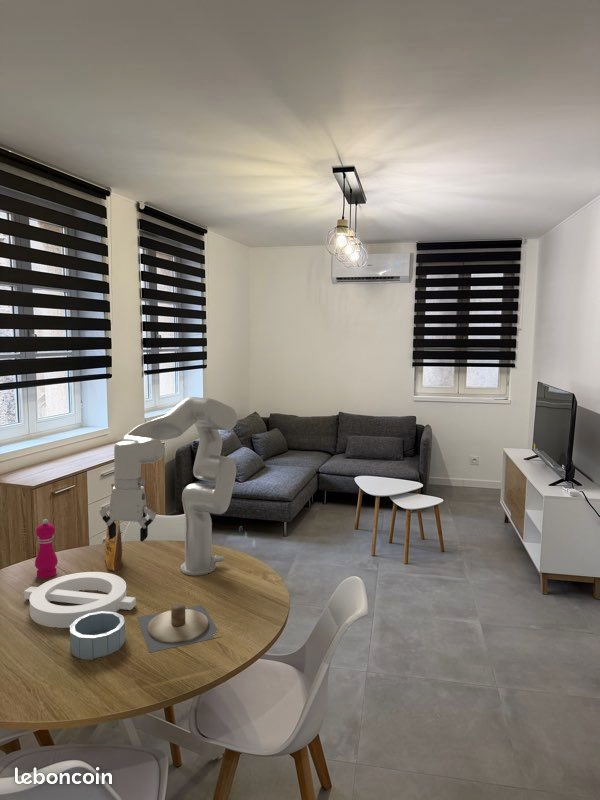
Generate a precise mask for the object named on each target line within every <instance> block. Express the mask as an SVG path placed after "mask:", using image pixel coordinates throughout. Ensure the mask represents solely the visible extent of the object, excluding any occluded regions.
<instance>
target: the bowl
mask: <svg viewBox="0 0 600 800" xmlns="http://www.w3.org/2000/svg"><path fill="white" fill-rule="evenodd" d="M69 641H70V642H69V643H70V645H69V647H70V653H71V655H72V654H73V655H72V656H74V657H76V658H77V657H78V658H77V659H79V658H81V659H80V660H89V659H90V660H94V659H96V658H100V657H106V656H109V655H111V654H113V653H115V652H116V651H118V650H120V649H121V648H122V646H123V645H124V644H125V643H126V621H125V617H124V615H123V614H121V613H118V612H109V611H99V612H94V613H89V614H86V615H84V616H82V617H79V618H77V619H76V620H75V621H74V622H73V623H72V624H71V625H70V628H69ZM90 660H89V661H90Z"/></svg>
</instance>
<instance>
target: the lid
mask: <svg viewBox="0 0 600 800" xmlns="http://www.w3.org/2000/svg"><path fill="white" fill-rule="evenodd" d="M185 608H186V605H185V604H184V603H175V604H173V605H172V606H171V609H169V610H167V611H163V613H162V612H160V613H161V614H159V615H157V616H155V617H154V618H153V619H152V620H151V621H150V622H149V624H148V633H149V635H150V636H151V637H152V638H154V639H156V640H158V641H161V642H167V643H179V642H186V641H189V640H192V639H195V638H197V637H199V636H201V635H202V634H203V633H204V632H205V631H206V630H207V628H208V619H207V617H206V616H205V615H204V614H202V613H201V612H198V611H195V610H190V609H185Z"/></svg>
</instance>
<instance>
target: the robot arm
mask: <svg viewBox="0 0 600 800" xmlns="http://www.w3.org/2000/svg"><path fill="white" fill-rule="evenodd" d="M237 423H238V415H237V412H236V410H235V409H234V407H232V406H230V405H227V404H225V403H224V402H221V401H219V400H216V399H214V398H209V397H197V396H190V397H186V398H184V399H183V400H182V401H180V402H179V403H178V404H177V405H175V406H174V407H173V408H172V409H171V410H169V411H168V412H167V413H166V414H164V415H163V416H160V417H157V418H154V419H152V420H149V421H146V422H144V423H141V424H139V425H137V426H136V427H134V428H133V429H131V430H130V431H129V432H128V433H126V434H125V435H124V436H123V437H122V439H121V440H120V441H119V442H117V443H116V444H114V448H113V449H114V450H113V452H114V453H113V455H114V458H113V459H114V461H113V462H114V463H113V464H114V465H113V467H114V469H113V470H114V472H113V473H114V483H113V484H114V487H113V488H112V487H111V494H110V500H109V505H107V506H106V507H104V508H102V509H100V510H99V513H100V516H101V517H102V518H101V519H102V521H104V523H106V527H107V526H108V535H109V539H112V538H114V537H115V536H116V523H114V522H115V521H120V522H130V523H138V524H139V526H140V527H141V528H140V529H139V538H140V540H139V541H140V542H144V541H145V540H146V539H147V538H148V535H149V533H148V532H149V531H148V530H149V528H148V527H149V526H150V525H151V523H153V522H154V520H155V519H156V516H157V512H156V511H153V509H150V508H149V507H147V506H148V504H147V496H146V491H145V487H144V485H145V484H146V480H145V479H142V471H141V470H142V465H143V464H154V463H157V462H159V461H160V460H161V459H162V458H163V457H164V455H165V452H166V448H165V445H164V443H163V442H162V441H165V440H171V439H176V438H180V437H181V436H182V435H184V434H185V432H186V431H188V430H189V429H190V428H191V427H192V426H193V425H195V428H196V429H197V433H198V437H199V439H198V440H199V442H198V446H197V451H196V455H195V459H194V464H193V468H192V473H193V476H194V477H195V478H196V479H198V480H201V481H206V482H211V483H212V482H213V483H215V485H211V484H205V483H199V482H195V483H190V484H187V485H186V486H185V487H184V488H183V490H182V492H181V493H182V495H181V501H182V507H183V511H184V562H182V564H180V572H182V573H183V574H185V575H188V576H195V577H196V576H204V575H208V573H209V574H210V573H213V572H214V571H215V570H216V569H217V567H216V566H217V564H216V563H220V562H225V556H224V555H219V554H215V555H213V554H212V545H213V544H212V542H213V541H212V538H213V537H212V536H213V535H212V533H213V531H212V529H213V527H212V525H213V522H212V517H211V514H213V515H214V514H215V515H223V514H225V513H226V512H227V510H228V508H229V506H230V504H231V499H232V495H233V491H234V490H233V489H234V485H235V482H236V475H237V465H236V462H235V460H234V459H233V458H231V457H229V456H224V455H221V454H222V448H223V439H222V435H221V434H220V432H219V431H231V430H232V429H234V428H235V426H236V425H237ZM142 485H143V486H142ZM108 511H109V513H110V517H109V515H108ZM147 516H149V517H148V519H147V518H146V517H147ZM212 571H213V572H212Z"/></svg>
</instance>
